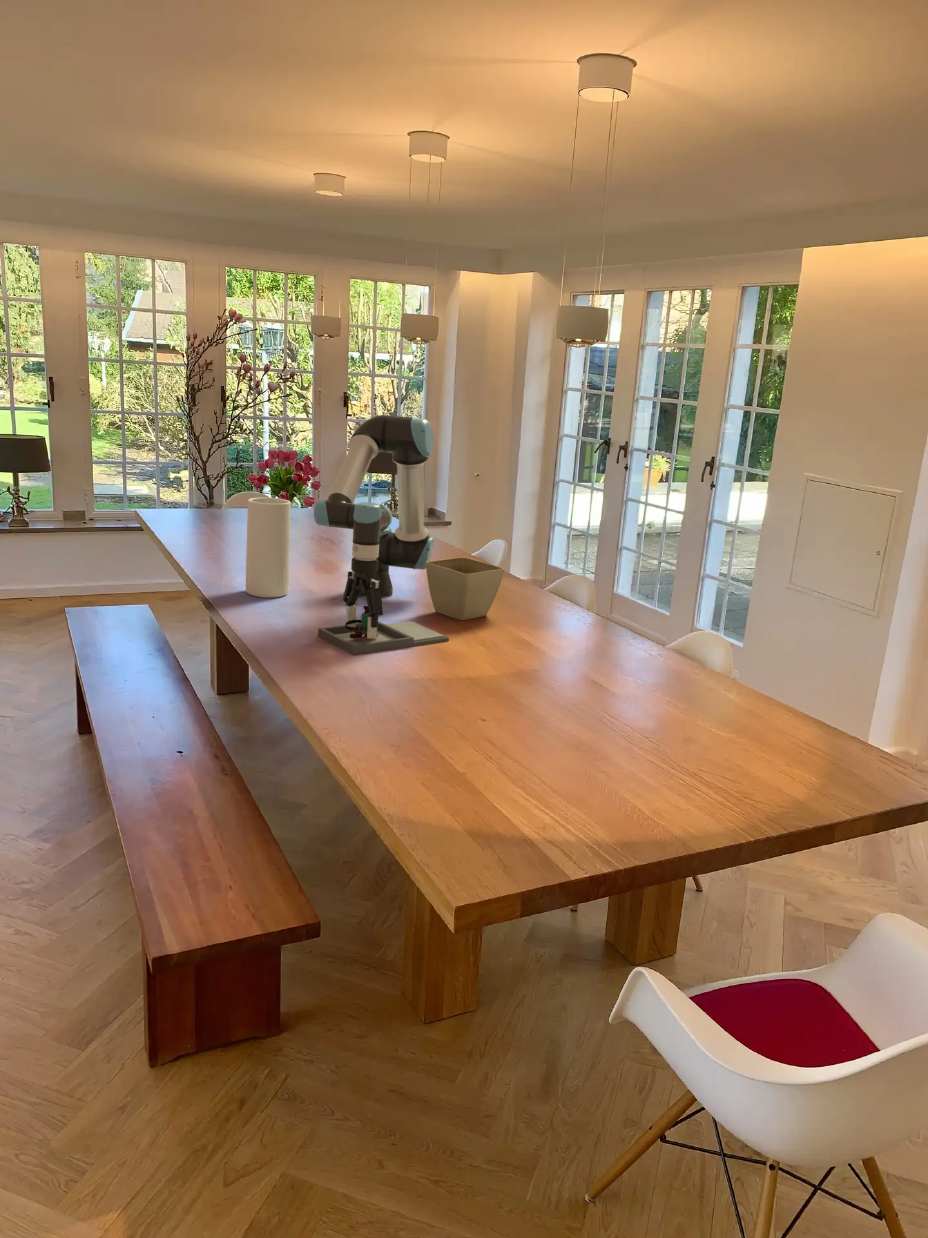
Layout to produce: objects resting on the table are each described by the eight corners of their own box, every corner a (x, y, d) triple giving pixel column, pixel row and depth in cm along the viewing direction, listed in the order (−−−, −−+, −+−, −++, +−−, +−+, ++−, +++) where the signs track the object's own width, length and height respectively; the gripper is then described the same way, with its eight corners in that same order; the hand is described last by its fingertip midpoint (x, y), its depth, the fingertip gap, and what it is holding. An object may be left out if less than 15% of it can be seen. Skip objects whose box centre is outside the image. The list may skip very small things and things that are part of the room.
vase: (296, 592, 312) (299, 500, 304) (274, 600, 299) (277, 505, 290) (259, 586, 316) (261, 495, 308) (237, 594, 303) (238, 500, 295)
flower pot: (501, 617, 302) (506, 567, 298) (462, 625, 289) (466, 573, 284) (460, 604, 315) (464, 556, 310) (420, 611, 301) (424, 561, 296)
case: (411, 624, 285) (411, 616, 284) (448, 640, 271) (449, 632, 270) (317, 636, 264) (318, 628, 264) (353, 655, 250) (353, 646, 249)
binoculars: (349, 599, 266) (381, 599, 264) (350, 633, 269) (383, 634, 267) (339, 606, 258) (372, 607, 256) (340, 641, 260) (374, 643, 258)
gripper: (332, 550, 263) (329, 623, 269) (376, 567, 246) (371, 645, 252) (354, 549, 268) (351, 620, 274) (398, 565, 251) (394, 641, 257)
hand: (361, 632), depth 263 cm, fingers closed on binoculars, 10 cm apart
